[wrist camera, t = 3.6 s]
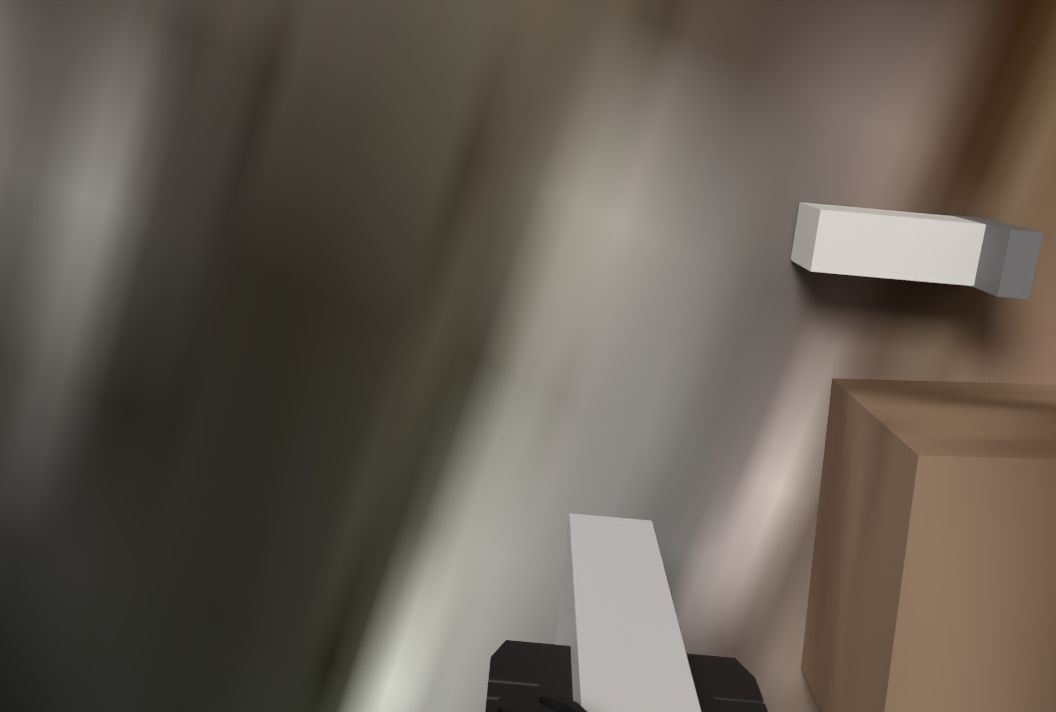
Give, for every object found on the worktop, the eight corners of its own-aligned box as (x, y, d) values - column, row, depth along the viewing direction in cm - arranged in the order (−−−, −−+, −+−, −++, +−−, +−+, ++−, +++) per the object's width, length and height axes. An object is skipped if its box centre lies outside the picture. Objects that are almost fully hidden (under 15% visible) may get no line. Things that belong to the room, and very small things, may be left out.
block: (798, 664, 23) (870, 813, 18) (830, 376, 21) (918, 454, 17) (1096, 672, 23) (1247, 822, 18) (1151, 385, 21) (1333, 467, 17)
